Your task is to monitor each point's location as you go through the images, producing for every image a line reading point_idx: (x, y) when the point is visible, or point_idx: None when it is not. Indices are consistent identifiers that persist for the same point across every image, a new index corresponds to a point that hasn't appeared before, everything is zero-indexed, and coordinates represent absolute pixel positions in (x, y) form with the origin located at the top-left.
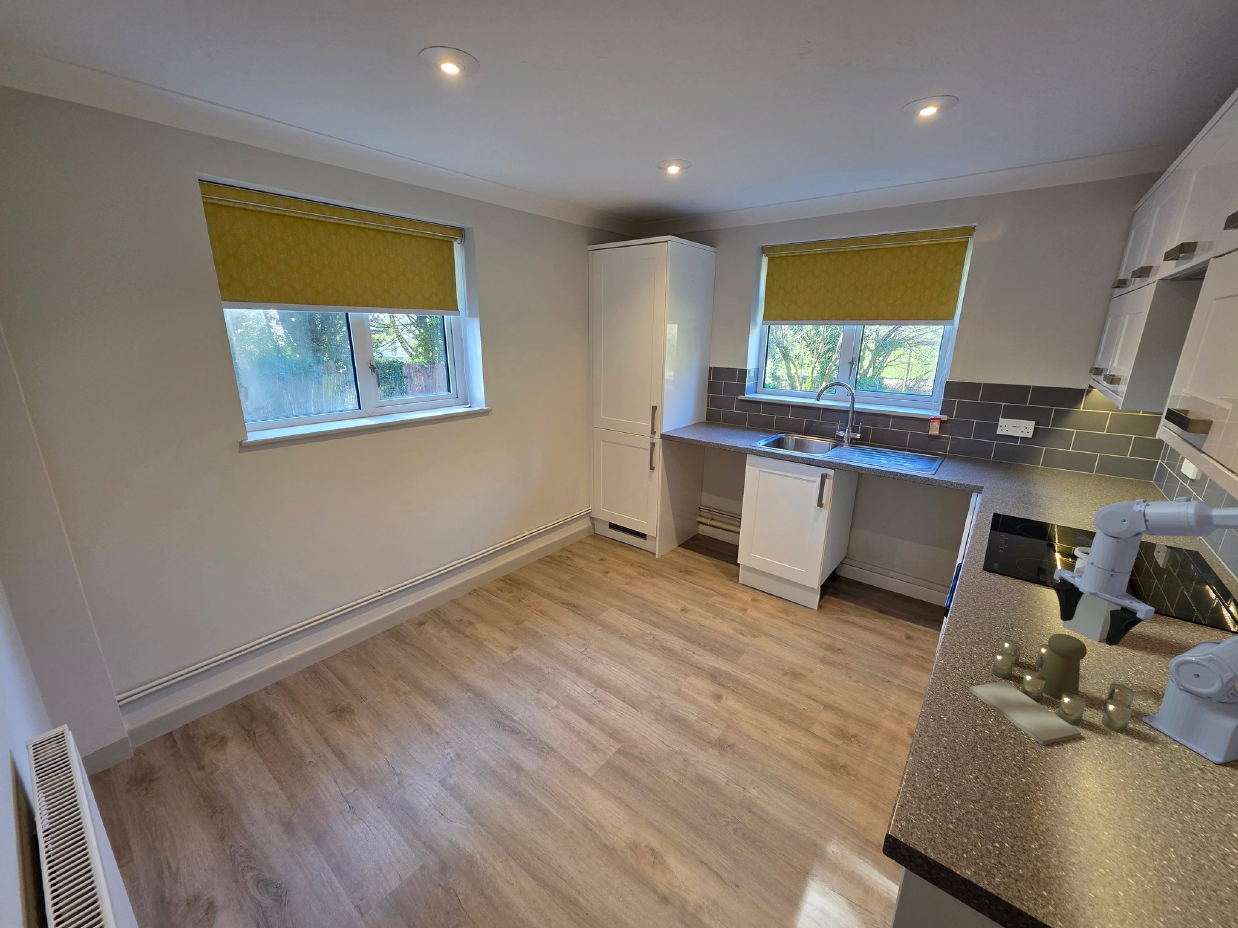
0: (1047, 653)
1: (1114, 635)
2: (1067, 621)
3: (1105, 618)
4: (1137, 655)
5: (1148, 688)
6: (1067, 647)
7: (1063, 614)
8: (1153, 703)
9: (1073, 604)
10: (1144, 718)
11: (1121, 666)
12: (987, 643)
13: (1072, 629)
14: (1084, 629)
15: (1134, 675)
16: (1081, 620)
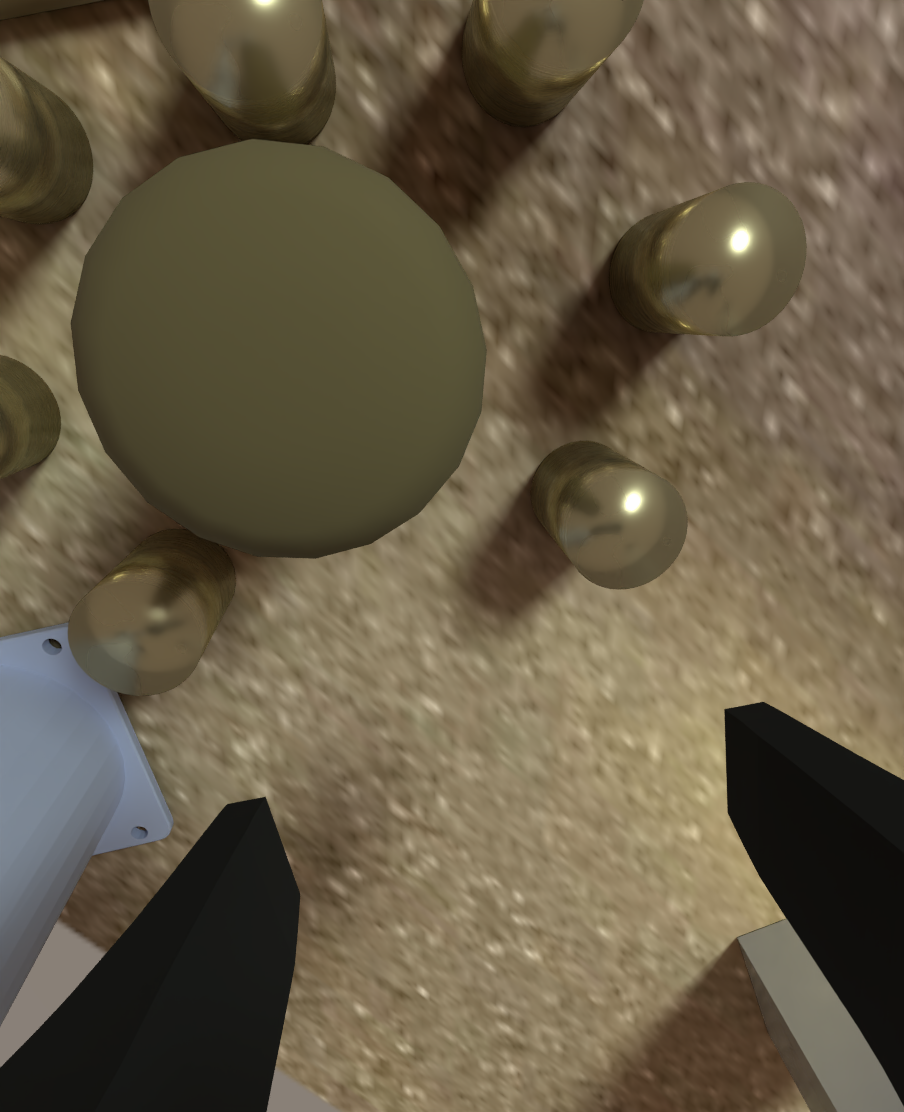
0: (587, 480)
1: (122, 935)
2: None
3: (824, 1094)
4: (613, 1008)
5: (368, 865)
6: (119, 216)
7: (785, 748)
8: (248, 795)
9: (883, 995)
10: None
11: (541, 885)
12: (867, 286)
13: None
14: None
15: (469, 885)
16: None
